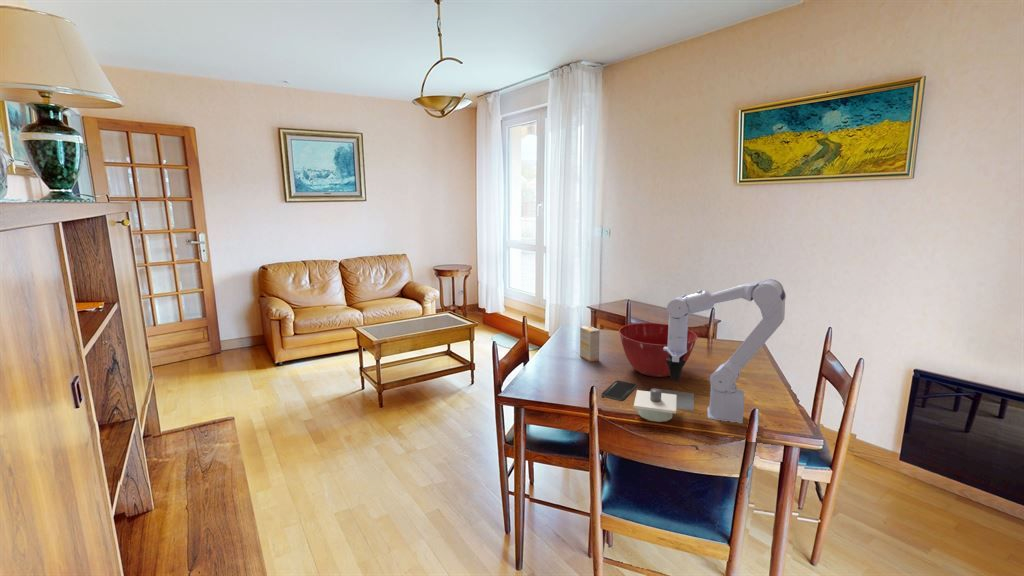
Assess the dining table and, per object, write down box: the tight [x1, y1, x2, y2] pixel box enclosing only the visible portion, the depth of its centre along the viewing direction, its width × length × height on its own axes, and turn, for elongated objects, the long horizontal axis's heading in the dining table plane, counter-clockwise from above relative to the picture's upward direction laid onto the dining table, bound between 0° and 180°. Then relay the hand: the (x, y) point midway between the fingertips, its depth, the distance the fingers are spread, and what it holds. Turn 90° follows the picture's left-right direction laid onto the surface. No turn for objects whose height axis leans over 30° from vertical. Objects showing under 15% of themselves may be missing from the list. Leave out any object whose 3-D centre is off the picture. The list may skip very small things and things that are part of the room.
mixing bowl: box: [618, 322, 698, 378], centre depth 178 cm, size 28×28×16 cm
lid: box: [633, 388, 677, 415], centre depth 143 cm, size 12×12×4 cm
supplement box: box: [579, 325, 601, 363], centre depth 194 cm, size 8×5×13 cm, turn 22°
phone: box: [601, 380, 638, 402], centre depth 161 cm, size 8×1×15 cm
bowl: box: [637, 409, 674, 423], centre depth 143 cm, size 10×10×4 cm
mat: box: [649, 387, 695, 412], centre depth 154 cm, size 14×14×1 cm
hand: (675, 376), depth 149 cm, fingers open, 7 cm apart
